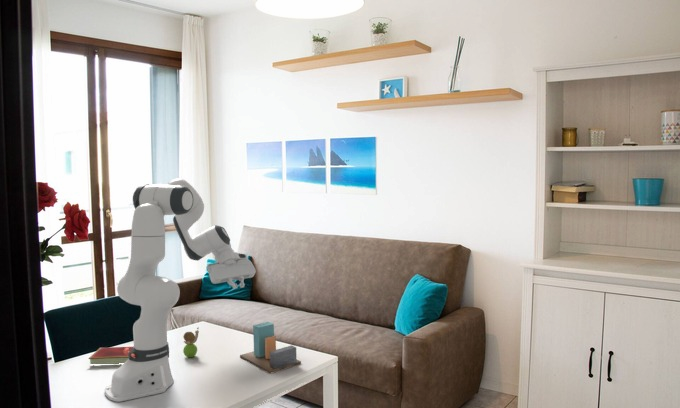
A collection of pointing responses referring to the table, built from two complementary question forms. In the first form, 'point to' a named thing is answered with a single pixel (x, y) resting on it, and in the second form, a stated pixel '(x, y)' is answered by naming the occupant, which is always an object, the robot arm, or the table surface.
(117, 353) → the hardcover book
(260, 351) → the teal upright block
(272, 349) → the orange flat block
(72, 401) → the table surface
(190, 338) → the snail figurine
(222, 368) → the table surface
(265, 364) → the brown wooden base board
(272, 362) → the grey lying block
